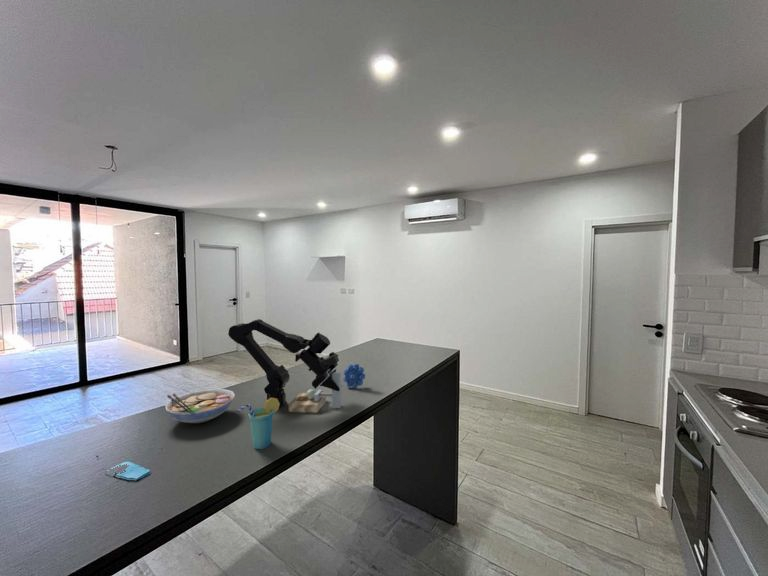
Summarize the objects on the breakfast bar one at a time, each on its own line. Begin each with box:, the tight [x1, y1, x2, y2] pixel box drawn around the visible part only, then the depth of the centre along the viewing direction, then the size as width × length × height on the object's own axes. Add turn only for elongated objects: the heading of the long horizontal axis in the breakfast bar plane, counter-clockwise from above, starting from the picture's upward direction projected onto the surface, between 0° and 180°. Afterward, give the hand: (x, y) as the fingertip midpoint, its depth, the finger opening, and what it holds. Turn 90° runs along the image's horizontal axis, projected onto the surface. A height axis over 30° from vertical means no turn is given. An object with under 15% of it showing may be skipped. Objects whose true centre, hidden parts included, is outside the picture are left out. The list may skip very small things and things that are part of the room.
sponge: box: [106, 460, 151, 480], centre depth 88 cm, size 2×12×6 cm
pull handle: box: [314, 371, 343, 409], centre depth 130 cm, size 10×6×14 cm, turn 84°
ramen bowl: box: [164, 388, 236, 424], centre depth 121 cm, size 25×23×8 cm
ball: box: [305, 388, 317, 399], centre depth 131 cm, size 4×4×4 cm
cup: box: [236, 398, 280, 450], centre depth 101 cm, size 14×8×15 cm, turn 146°
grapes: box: [342, 363, 366, 390], centre depth 152 cm, size 12×7×12 cm, turn 66°
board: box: [287, 392, 327, 414], centre depth 132 cm, size 12×12×3 cm
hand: (340, 388), depth 130 cm, fingers closed on pull handle, 3 cm apart
